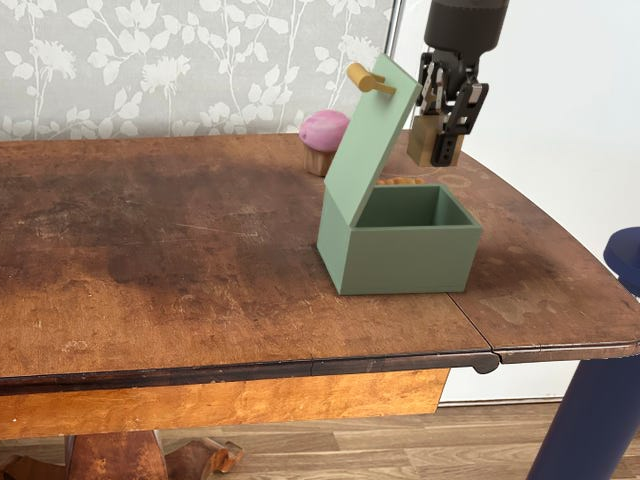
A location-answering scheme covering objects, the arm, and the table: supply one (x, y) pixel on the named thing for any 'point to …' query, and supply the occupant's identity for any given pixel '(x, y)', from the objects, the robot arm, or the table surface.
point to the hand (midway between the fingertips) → (431, 156)
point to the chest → (400, 242)
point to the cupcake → (322, 139)
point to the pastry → (400, 181)
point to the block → (427, 140)
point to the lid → (370, 133)
